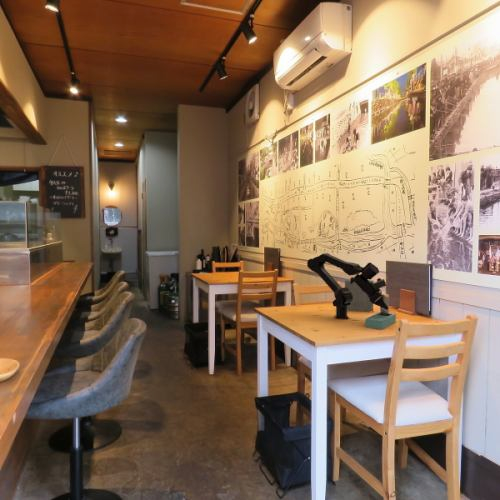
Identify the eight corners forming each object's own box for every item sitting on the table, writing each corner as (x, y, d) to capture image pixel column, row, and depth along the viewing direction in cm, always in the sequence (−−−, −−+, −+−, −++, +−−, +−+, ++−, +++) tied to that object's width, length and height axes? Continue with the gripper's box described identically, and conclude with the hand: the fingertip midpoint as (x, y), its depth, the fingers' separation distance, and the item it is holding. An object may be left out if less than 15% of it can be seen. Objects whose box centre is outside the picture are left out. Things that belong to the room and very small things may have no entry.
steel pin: (379, 321, 206) (379, 293, 206) (387, 321, 206) (387, 294, 205) (381, 323, 202) (381, 295, 202) (389, 323, 202) (389, 295, 201)
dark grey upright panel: (344, 310, 234) (344, 275, 233) (344, 309, 238) (344, 275, 237) (373, 311, 230) (373, 276, 229) (372, 310, 234) (373, 275, 233)
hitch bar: (380, 319, 210) (380, 311, 210) (395, 321, 206) (395, 313, 205) (365, 327, 194) (365, 318, 194) (382, 329, 190) (382, 321, 189)
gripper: (377, 275, 195) (401, 299, 192) (376, 271, 213) (398, 293, 210) (359, 291, 198) (383, 315, 195) (360, 286, 215) (382, 307, 213)
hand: (387, 307), depth 203 cm, fingers open, 9 cm apart
